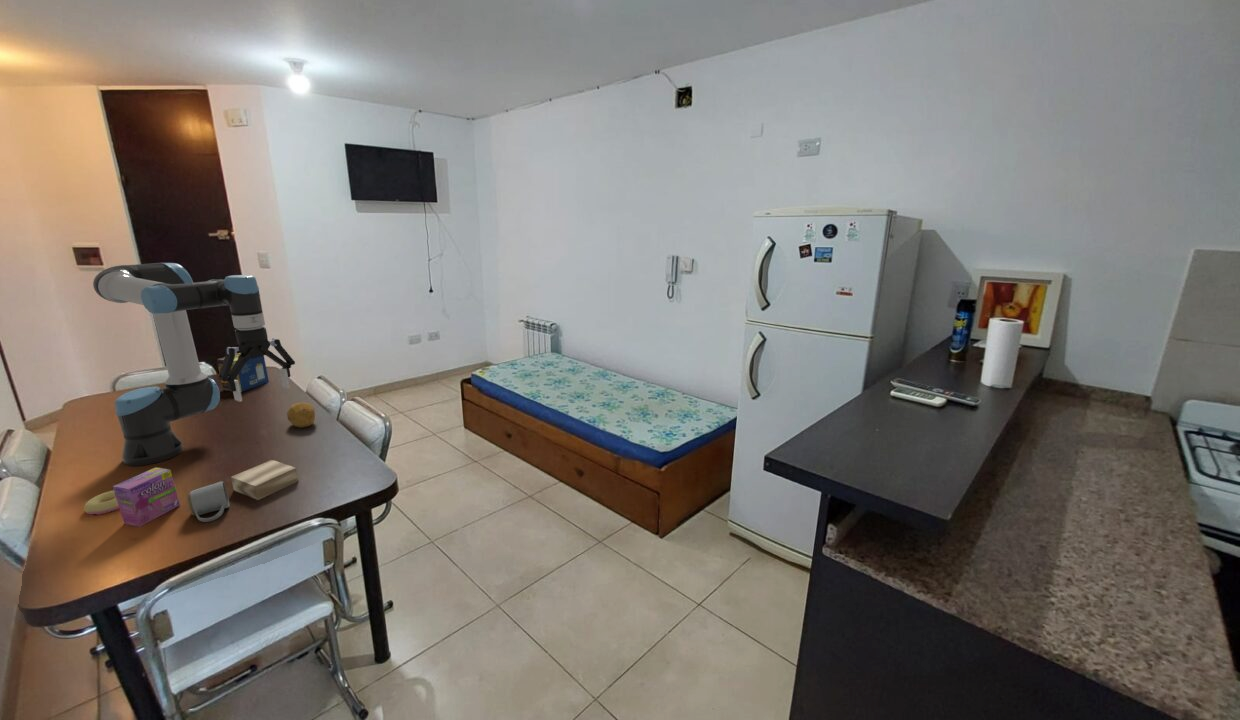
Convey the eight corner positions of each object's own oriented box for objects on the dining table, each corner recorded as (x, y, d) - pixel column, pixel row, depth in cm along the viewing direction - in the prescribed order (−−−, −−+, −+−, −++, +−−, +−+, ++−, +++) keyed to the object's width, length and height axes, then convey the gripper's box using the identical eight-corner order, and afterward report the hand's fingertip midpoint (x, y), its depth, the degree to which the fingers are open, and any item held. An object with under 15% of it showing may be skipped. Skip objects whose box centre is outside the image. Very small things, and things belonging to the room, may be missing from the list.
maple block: (234, 491, 147) (230, 476, 145) (274, 473, 157) (272, 459, 156) (258, 501, 142) (255, 486, 141) (298, 481, 153) (296, 467, 151)
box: (140, 527, 129) (128, 488, 125) (123, 524, 130) (111, 485, 126) (181, 505, 138) (171, 469, 135) (165, 503, 139) (155, 466, 136)
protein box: (222, 390, 227) (215, 359, 223) (251, 380, 242) (245, 350, 238) (241, 392, 226) (235, 360, 221) (269, 381, 240) (264, 352, 236)
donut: (142, 505, 142) (113, 498, 143) (143, 490, 142) (114, 484, 142) (104, 520, 132) (72, 513, 133) (104, 504, 132) (73, 497, 132)
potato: (287, 411, 182) (315, 403, 188) (281, 403, 192) (307, 396, 198) (294, 434, 185) (321, 425, 191) (288, 424, 195) (314, 416, 200)
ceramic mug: (192, 509, 137) (186, 485, 135) (229, 499, 142) (223, 476, 140) (192, 527, 129) (185, 503, 127) (230, 516, 134) (225, 492, 132)
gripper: (206, 337, 132) (223, 409, 138) (300, 321, 153) (311, 384, 159) (193, 334, 135) (209, 404, 141) (286, 319, 156) (297, 380, 162)
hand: (263, 393), depth 150 cm, fingers open, 13 cm apart
